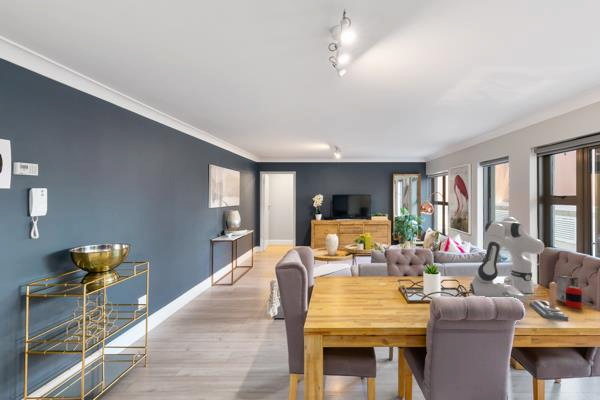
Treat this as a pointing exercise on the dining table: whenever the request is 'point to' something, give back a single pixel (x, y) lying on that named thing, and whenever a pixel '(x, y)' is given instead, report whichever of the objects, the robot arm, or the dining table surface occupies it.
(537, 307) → the fader console
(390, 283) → the dining table surface
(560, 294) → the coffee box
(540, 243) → the robot arm
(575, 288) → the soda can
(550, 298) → the tan tall piece
